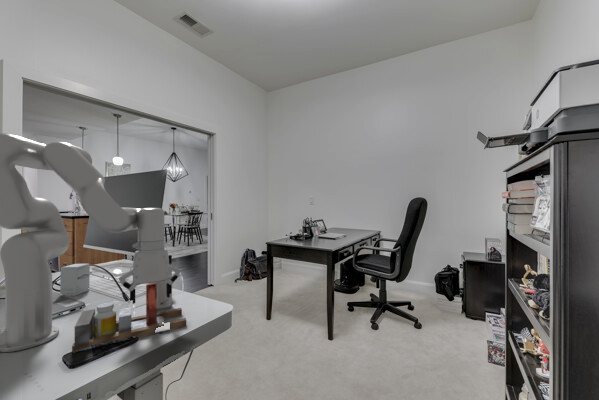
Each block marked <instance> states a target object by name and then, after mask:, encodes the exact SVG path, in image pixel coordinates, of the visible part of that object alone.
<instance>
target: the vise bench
mask: <svg viewBox="0 0 599 400" xmlns="http://www.w3.org/2000/svg"><path fill="white" fill-rule="evenodd" d="M182 311H183V309H182V307H177V308H173V309H168V310H164V311H157V317H158V316H162V315H163V318H164V320H165V319H171V318H176V317H181V316H182V315H183V312H182ZM95 314H96V308H94V309H88V310H83V311H82V312H81V313H80V314H79V315H80V316H79V318H78V320H77V321H76V323H75V325H74V342H73V343H72V345H71V353H72V352H73V351H76V350H79V349H81V348H84V347H88V346H91V345H95V344H100V343H106V342H111V341H115V340H121V339H125V338H130V337H133V336H137V337H138V338H137V339H139V338H144V337H147V336H148V337H149V336H152V335H155V330H156V328H158V327H161V326H164V324H162V323H160V324H155V325H151V326H146V327H142V328H138V329H133V330H129V331H124V332H120V333H119V332H116V334H111V335H107V336H102V337H98V338H93V332H94V315H95ZM143 319H146V314H143V315H139V316H135V317H133V316H132V317H131V322H134V321H139V320H143ZM168 322H170V329H171V330H170V331H172V330H177V329H180V328H185V327H187V318H186V317H183V318H179V319H178V318H177V319H174V320H169V321H168ZM117 330H119V319H117V320H116V331H117Z"/></svg>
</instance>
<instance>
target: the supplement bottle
mask: <svg viewBox="0 0 599 400" xmlns="http://www.w3.org/2000/svg"><path fill="white" fill-rule="evenodd" d="M114 307H115V306H114V302H110V301H109V302H105V303H101V304H98V305H97V306H96V312H95V315H94V332H93V338H98V337H102V336H107V335H111V334H116V333H117V330H116V321H117V311H116V309H114Z"/></svg>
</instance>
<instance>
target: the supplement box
mask: <svg viewBox="0 0 599 400" xmlns="http://www.w3.org/2000/svg"><path fill="white" fill-rule="evenodd" d="M90 269H91V268H90V263H73V264H70V265H66V266H62V267H60V279H59V280H60V281H59V283H60V285H59V286H60V287H59V288H60V292H59V295H60V294H62V295H65V296H64V297H69V296H70V297H72V296H73V297H76V296H78V295H80V294H83V293H86V292H89V291H90V272H91V271H90ZM88 288H89V289H88Z"/></svg>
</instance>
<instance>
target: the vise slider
mask: <svg viewBox="0 0 599 400" xmlns="http://www.w3.org/2000/svg"><path fill="white" fill-rule="evenodd" d="M145 289H146V290H145V292H146V293H145V296H146V297H145V307H146V308H145V312H146V313H145V315H146V319H143V320H139V321H134V322H131V318H132V307H131V306H130V307H125V308H120V310H119V314H118V320H119V329H118V333H120V332H124V331H129V330H133V329H138V328H142V327H146V326H151V325H155V324H160V323H162V322H165V319H164V318H163V315H162V316H158V317H157V312H158V311H157V283H146V284H145Z"/></svg>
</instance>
